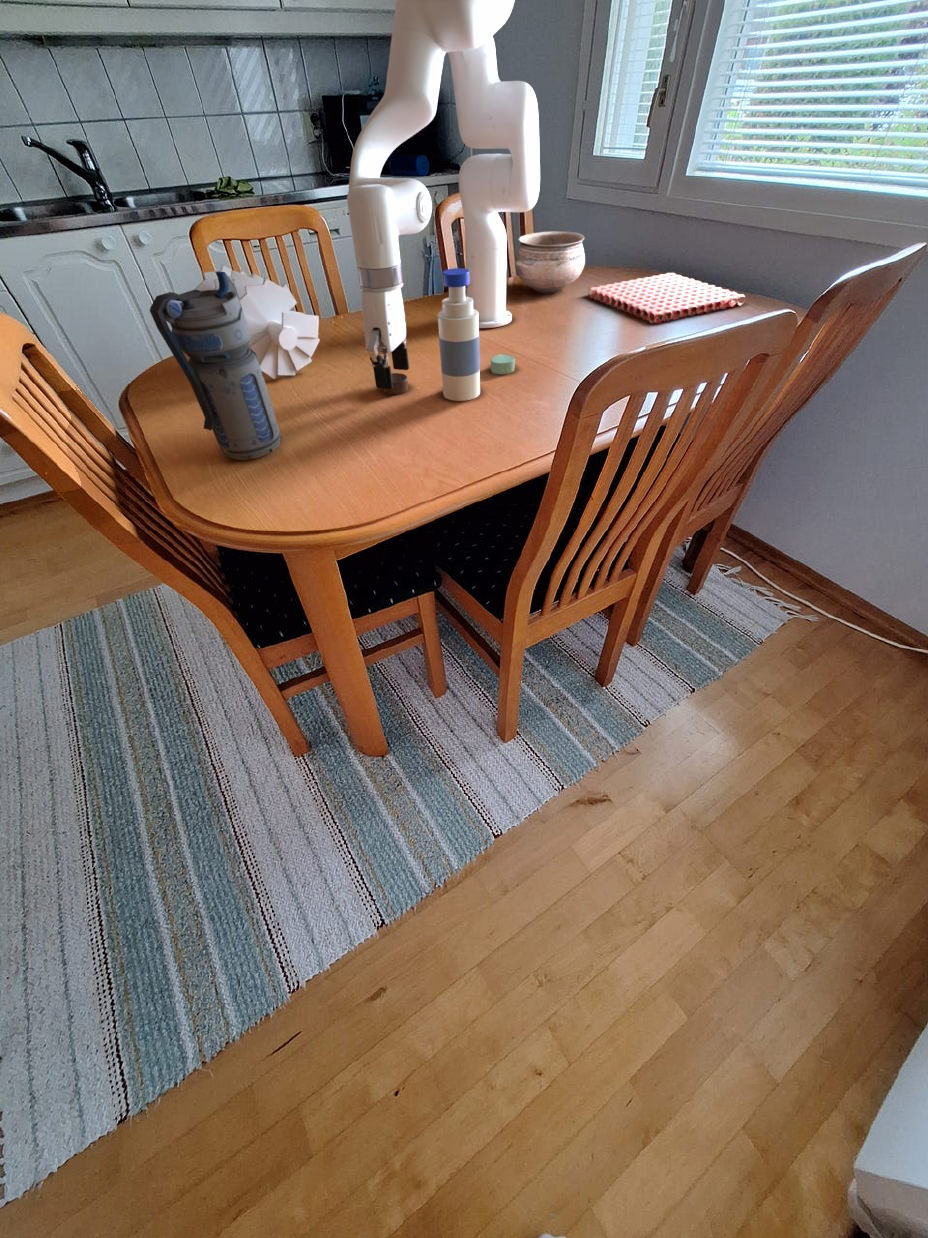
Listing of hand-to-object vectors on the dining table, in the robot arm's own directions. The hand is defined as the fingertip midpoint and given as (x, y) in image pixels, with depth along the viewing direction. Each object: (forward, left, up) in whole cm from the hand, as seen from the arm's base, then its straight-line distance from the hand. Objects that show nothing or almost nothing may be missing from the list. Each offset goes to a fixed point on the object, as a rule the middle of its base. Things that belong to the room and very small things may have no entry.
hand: (393, 378), depth 104 cm
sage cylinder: (+1, +23, -2) cm, 23 cm away
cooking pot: (-46, +59, -2) cm, 75 cm away
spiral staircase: (-26, -22, -2) cm, 34 cm away
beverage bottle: (+13, -30, -2) cm, 32 cm away
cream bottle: (+8, +11, -2) cm, 14 cm away
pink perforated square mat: (-22, +80, -2) cm, 83 cm away
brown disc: (0, 0, -2) cm, 2 cm away
